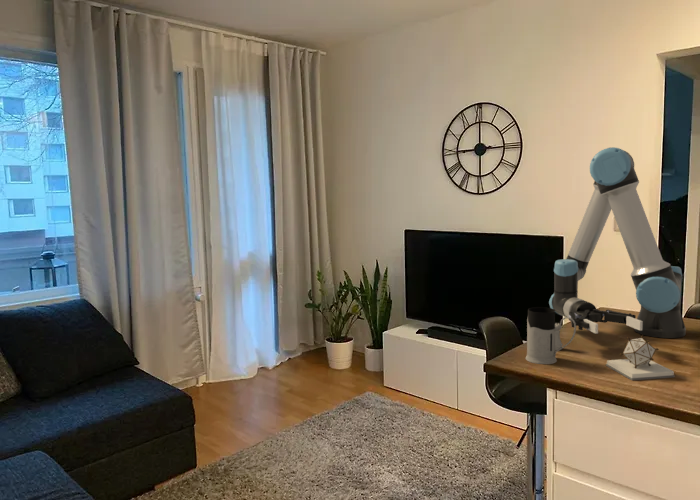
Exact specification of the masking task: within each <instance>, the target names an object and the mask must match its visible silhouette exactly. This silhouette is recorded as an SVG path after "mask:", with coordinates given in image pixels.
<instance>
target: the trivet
mask: <svg viewBox="0 0 700 500" xmlns="http://www.w3.org/2000/svg"><path fill="white" fill-rule="evenodd" d="M649 364H650V365H651V366H649V365H648V364H645V365H639V366H637V368H636V369H635V365H634V364H633V363H632V362H631V363H630V360H628V359H627V358H624V359H621V358H620V359H611V360H610V359H608V360H606V363H605V366H606V367H608V368H609V369H610V370H613V371H614V372H616V373H618V374H619V375H621V376H624V377H625V378H626V379H628V380H631V381H642V380H654V379H655V380H656V379H658V380H659V379H670V378H671V379H672V378H675V377H676V375H675V372H674V370H672V369H671V368H668V367H666V366H663V365H661V364H659V363H657V362H655V361H654V360H653V361H652V360H651V361H650V363H649Z"/></svg>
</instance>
